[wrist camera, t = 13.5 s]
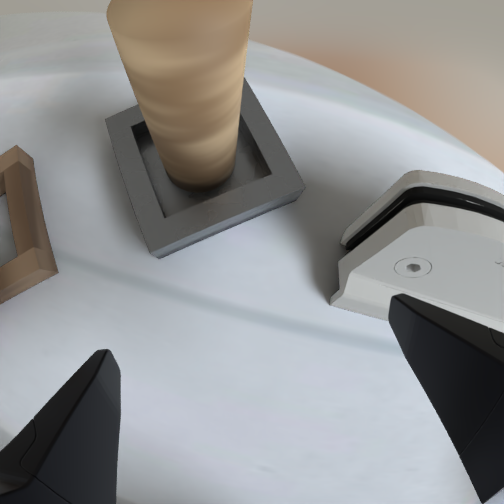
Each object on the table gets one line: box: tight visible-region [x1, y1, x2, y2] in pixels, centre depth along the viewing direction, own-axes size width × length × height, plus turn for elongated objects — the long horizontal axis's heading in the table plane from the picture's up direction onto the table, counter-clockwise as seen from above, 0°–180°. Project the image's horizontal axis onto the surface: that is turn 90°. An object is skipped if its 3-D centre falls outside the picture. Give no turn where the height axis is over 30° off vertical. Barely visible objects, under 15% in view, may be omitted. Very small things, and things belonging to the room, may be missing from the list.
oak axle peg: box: [107, 0, 253, 193], centre depth 13 cm, size 4×4×12 cm
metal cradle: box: [105, 78, 305, 259], centre depth 19 cm, size 9×9×2 cm
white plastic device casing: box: [330, 170, 504, 333], centre depth 16 cm, size 17×5×10 cm, turn 74°
